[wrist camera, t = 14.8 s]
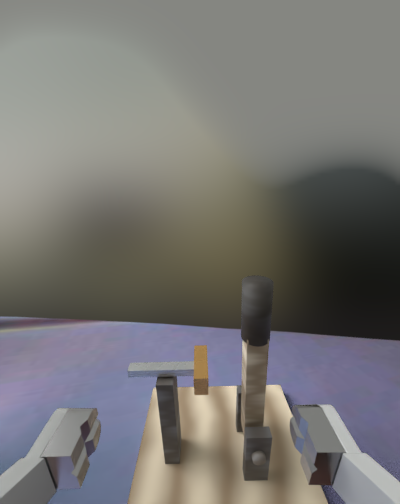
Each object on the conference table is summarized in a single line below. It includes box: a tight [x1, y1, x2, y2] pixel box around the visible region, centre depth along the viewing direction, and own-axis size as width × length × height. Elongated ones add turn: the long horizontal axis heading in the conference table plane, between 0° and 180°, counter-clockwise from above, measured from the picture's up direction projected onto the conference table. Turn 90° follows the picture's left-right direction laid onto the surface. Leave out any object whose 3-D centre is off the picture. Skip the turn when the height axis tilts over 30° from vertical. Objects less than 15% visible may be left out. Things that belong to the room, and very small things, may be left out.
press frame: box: [127, 376, 328, 504], centre depth 28 cm, size 24×20×16 cm
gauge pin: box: [128, 345, 209, 395], centre depth 26 cm, size 10×5×2 cm, turn 90°
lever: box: [241, 276, 273, 435], centre depth 26 cm, size 3×3×22 cm
